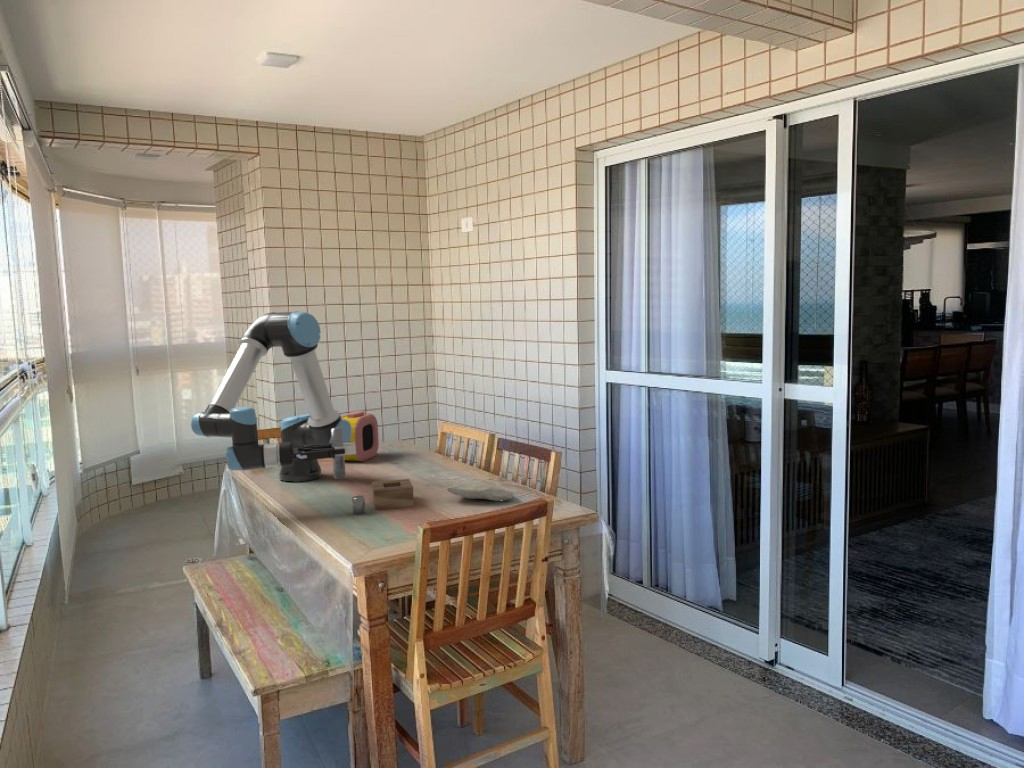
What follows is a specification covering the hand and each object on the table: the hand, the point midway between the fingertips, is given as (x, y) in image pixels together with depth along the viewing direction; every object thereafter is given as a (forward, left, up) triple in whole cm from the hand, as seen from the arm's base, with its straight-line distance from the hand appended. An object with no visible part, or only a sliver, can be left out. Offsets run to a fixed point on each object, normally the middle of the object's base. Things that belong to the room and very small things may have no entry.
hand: (355, 448), depth 247 cm
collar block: (+5, +11, -18) cm, 21 cm away
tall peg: (0, -5, -9) cm, 10 cm away
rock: (+8, +37, -18) cm, 42 cm away
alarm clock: (-68, +3, -18) cm, 71 cm away
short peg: (+13, 0, -18) cm, 22 cm away
